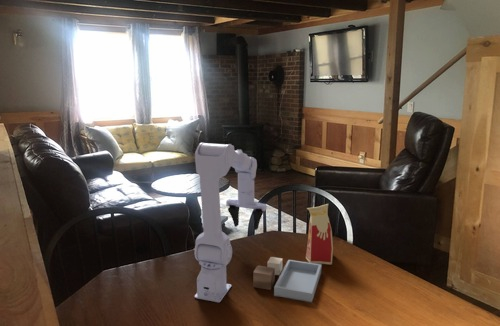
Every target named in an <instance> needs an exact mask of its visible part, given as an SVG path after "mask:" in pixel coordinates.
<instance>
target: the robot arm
mask: <svg viewBox="0 0 500 326" xmlns="http://www.w3.org/2000/svg"><path fill="white" fill-rule="evenodd" d="M194 159H195V160H194V161H195V162H194V163H195V171H196V174H198V175H199V184H200V185H199V186H200V199H201V213H202V225H203V228H202V229H203V232H201V233H200V234H199V235H198V236H197V237H196V239H195V246H194V250H193V251H194V257H195V259H196V261H198V264H199V265H200V266H201V269H200V271H199V273H198V275H197V278H196V294H194V299H195V298H196V299H199V300H204V301H209V302H210V301H211V302H214V303H220V302H221V301H222V300H224V299H223V298H224V297H225V296H226V295H227V293H228V292H229V291H230V289H231V287H232V284H230V283H227V265H228V264H230V262H231V261H232V256H233V247H232V244H231V239H230V237H229V236H228V235H227V234H226V233H225V232H223V230H222V229H223V228H222V215H221V199H220V184H219V183H220V182H219V180H220V178H223V177H225V176H226V175H227V174H228V173H229V171H230V169H231V167H232V168H233V169H234V171H235V173H237V199H227V200H226V207H228V208H227V211H228V213H229V215H230V216H231V219H232V222H233V225H234V227H235V228H237V227H238V226H239V223H240V220H239V219H240V218H239V215H240V208H243V209H244V208H245V209H251V210H254V211H253V212H252V215H253V216H252V217H253V221H254V222H253V223H254V224H253V229H254V231H257V230H258V229H259V227H260V222H261V219H262V216H263V214H264V212H265V211H267V209H268V208H267V204H266V203H262V202H257V201H256V200H255V178H256V176H257V174H256V173H257V168H258V163H257V162H258V161H257V159H256V158H255V157H253V156H248V154H247V153H244V152H243V150H242V149H236V150H235V146H234V145H232V143H228V144H225V143H213V142H212V143H210V142H203V141H202V142H200V143H199V144H198V145H197V147H196V150H195V152H194Z"/></svg>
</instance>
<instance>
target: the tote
mask: <svg viewBox="0 0 500 326" xmlns="http://www.w3.org/2000/svg"><path fill="white" fill-rule="evenodd" d="M322 266H323V264H320V263H309V262H308V261H302V260H301V261H300V260H294V259H288V260H287V261H286V263H285V265H284V267H283V268H282V271H281V273H280V275H279V277H278V278H277V281H276V282H275V283H274V285H273V297H279V298H285V299H290V300H295V301H301V302H306V303H313V300H314V297H315V294H316V290H317V288H318V285H319V281H320V278H321V275H322V269H323V268H322Z"/></svg>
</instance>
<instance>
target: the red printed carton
mask: <svg viewBox="0 0 500 326" xmlns="http://www.w3.org/2000/svg"><path fill="white" fill-rule="evenodd" d="M306 209H307V211H309V212H308V213H309V215H310V217H309V223H308V234H307V235H308V237H307V246H306V253H305V259H306V260H307V262H308V263H315V264H322V265H331V266H332V265H333V252H334V245H333V243H334V242H333V231H332V226H331V223H330V217H329V215H328V210H329V203H326V204H322V205H320V206H315V207H307V208H306Z"/></svg>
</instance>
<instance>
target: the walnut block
mask: <svg viewBox="0 0 500 326" xmlns="http://www.w3.org/2000/svg"><path fill="white" fill-rule="evenodd" d="M252 274H253V275H252V278H253V279H252V281H253V282H252V285H253V287H252V288H258V289H263V290H268V291H271V290H272V288H274V286H275V284H276V282H275V281H276V277H275V276H276V275H275V268H271V267H267V266H263V265H257V266H256V267H255V269H254V270H253V273H252Z"/></svg>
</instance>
